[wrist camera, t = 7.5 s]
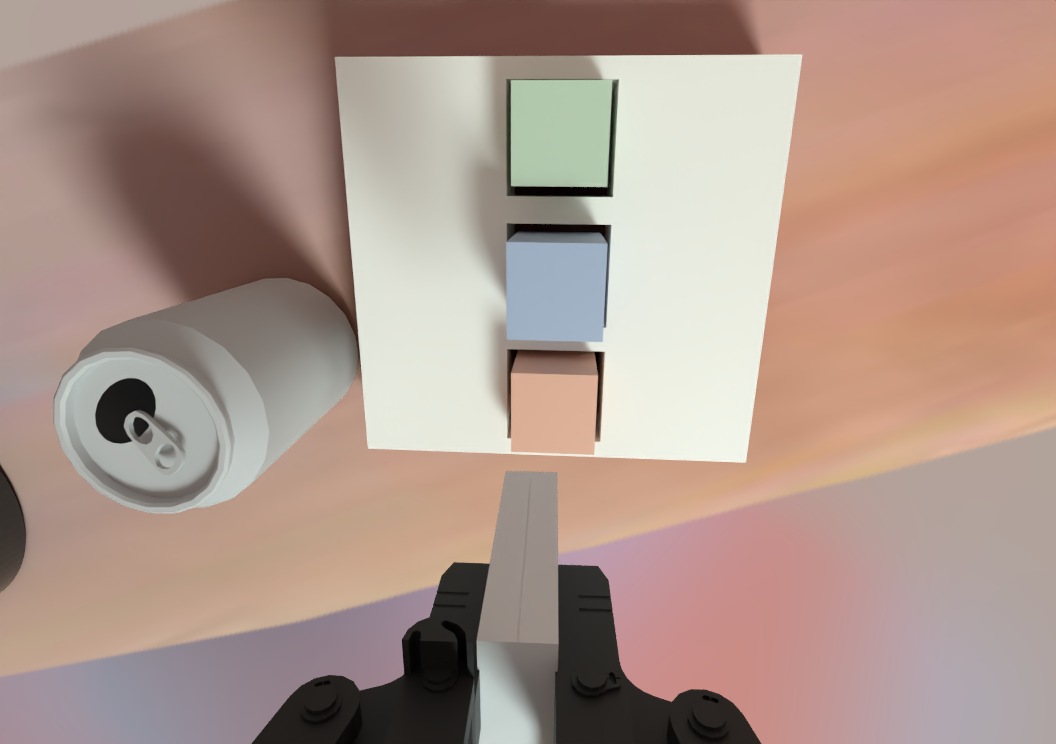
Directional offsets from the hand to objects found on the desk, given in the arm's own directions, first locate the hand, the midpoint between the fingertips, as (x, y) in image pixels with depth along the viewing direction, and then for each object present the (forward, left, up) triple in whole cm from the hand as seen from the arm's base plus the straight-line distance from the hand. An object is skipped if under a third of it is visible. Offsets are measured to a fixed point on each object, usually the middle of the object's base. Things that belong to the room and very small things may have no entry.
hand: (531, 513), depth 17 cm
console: (+1, +5, -14) cm, 15 cm away
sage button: (+1, +11, -13) cm, 17 cm away
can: (-13, +1, -14) cm, 20 cm away
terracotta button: (+1, 0, -13) cm, 13 cm away
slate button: (+1, +5, -11) cm, 12 cm away
